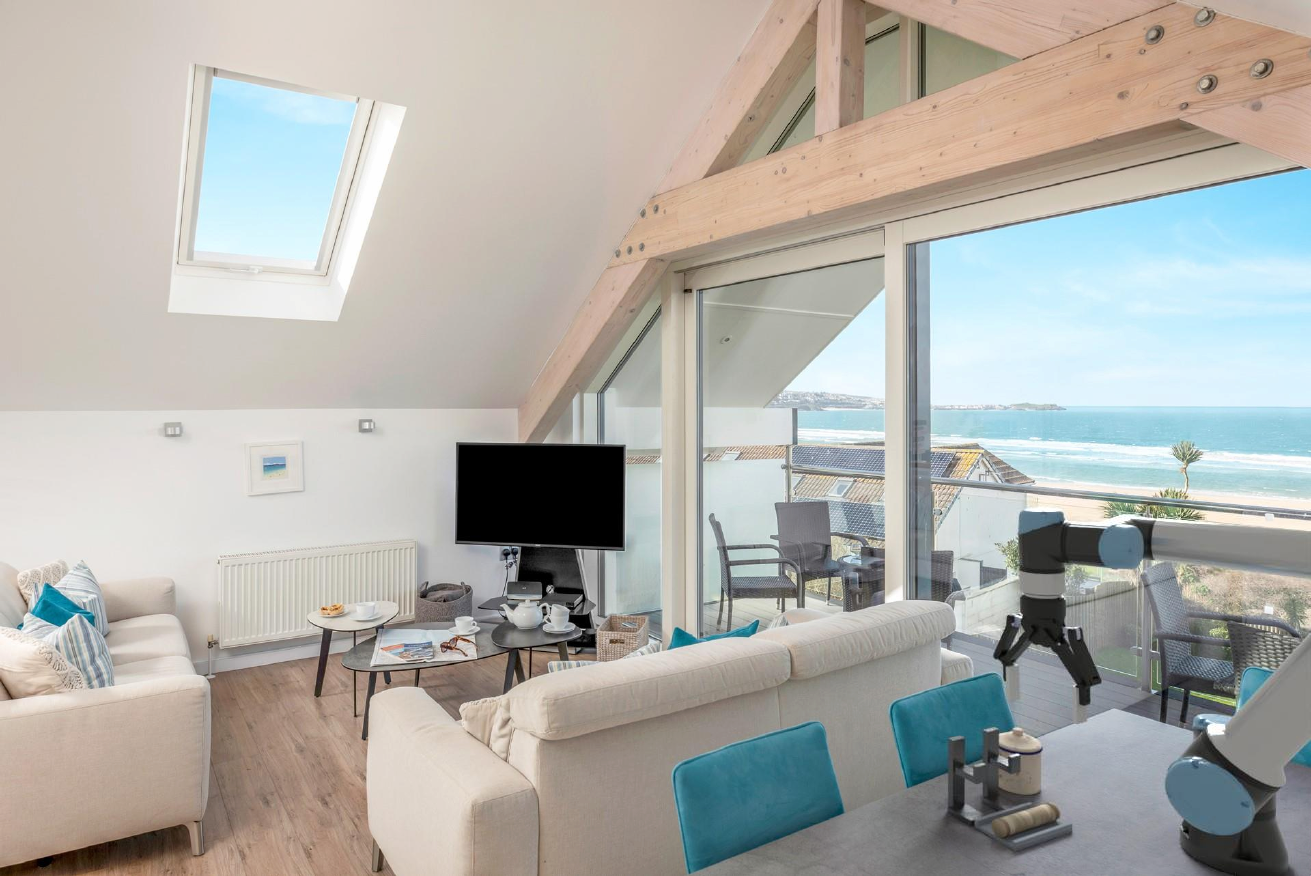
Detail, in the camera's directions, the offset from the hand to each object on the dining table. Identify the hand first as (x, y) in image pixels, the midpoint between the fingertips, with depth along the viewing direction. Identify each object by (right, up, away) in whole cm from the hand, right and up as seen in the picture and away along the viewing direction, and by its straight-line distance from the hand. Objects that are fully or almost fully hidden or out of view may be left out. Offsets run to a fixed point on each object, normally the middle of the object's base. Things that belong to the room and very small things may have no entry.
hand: (1045, 710), depth 147 cm
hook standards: (-8, -21, +6) cm, 24 cm away
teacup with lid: (+1, -21, +17) cm, 27 cm away
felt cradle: (-4, -22, 0) cm, 22 cm away
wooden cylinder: (-4, -21, 0) cm, 21 cm away
